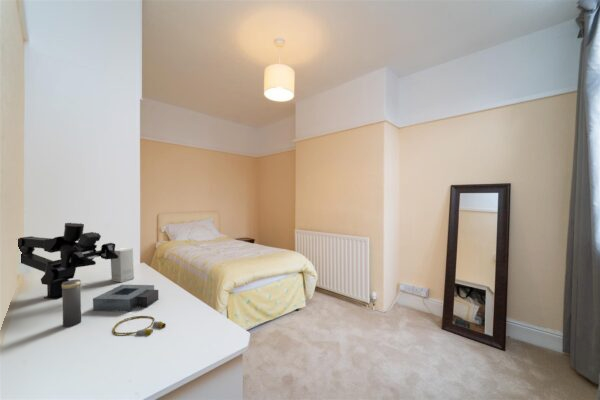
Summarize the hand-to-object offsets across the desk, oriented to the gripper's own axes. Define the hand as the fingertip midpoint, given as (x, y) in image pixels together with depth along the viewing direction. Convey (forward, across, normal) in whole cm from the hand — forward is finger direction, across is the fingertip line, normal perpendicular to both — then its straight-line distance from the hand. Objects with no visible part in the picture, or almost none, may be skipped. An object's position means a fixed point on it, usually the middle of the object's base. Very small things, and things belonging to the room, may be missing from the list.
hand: (107, 260), depth 97 cm
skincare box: (-14, +22, +20) cm, 33 cm away
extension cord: (+30, -13, +12) cm, 35 cm away
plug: (+8, -16, +15) cm, 24 cm away
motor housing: (+13, +1, +14) cm, 19 cm away
